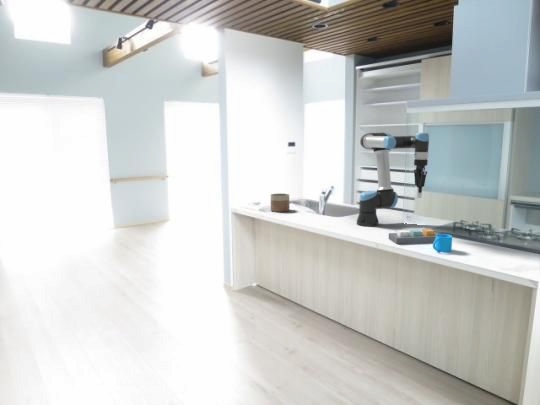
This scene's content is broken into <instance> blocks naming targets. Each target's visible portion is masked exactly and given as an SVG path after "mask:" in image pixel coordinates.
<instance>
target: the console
mask: <svg viewBox="0 0 540 405" xmlns="http://www.w3.org/2000/svg"><path fill="white" fill-rule="evenodd" d="M407 232H408V236H407V237H399V236H398V235H397V232H389V233H388V240H390V241H391V242H393V243H394V244H395V245H406V244H431V243H432V244H433V242H434V241H435V239H436V235H437V234H438V233H437V232H435V231H434V235H431V236H426V235H424V234H423V231H421V236H412V235H410V231H407Z"/></svg>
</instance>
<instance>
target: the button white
mask: <svg viewBox="0 0 540 405" xmlns="http://www.w3.org/2000/svg"><path fill="white" fill-rule="evenodd" d="M408 232H409V231H407V230H405V229H403V230H402V229H400V230H398V229H397V231H396V233H397V235H398V236H399V237H407V236H408Z"/></svg>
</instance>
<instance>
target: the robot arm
mask: <svg viewBox="0 0 540 405" xmlns="http://www.w3.org/2000/svg"><path fill="white" fill-rule="evenodd" d="M429 145H430V133H428V132H417V133H415V135H402V136H401V135H400V136H399V135H397V136H396V135H393V136H392V134H390V133H389V132H368V133H365V134H363V135H362V136H361V138H360V146H361V147H362V148H364V149H365V150H373V153H374V154H375V157H376V158H375V159H376V171H377V186H378V188H377V190H365V191H362V192H360V194H359V199H358V200H359V206H358V207H359V211H358V212H359V213H358V216H357V219H356V225H357V226H362V227H375V226H378V225H379V222H380V221H379V219H378V216H377V210H385V209H388V210H389V209H392V208H393V209H394V208H395V207H396V205H397V204H398V201H399V196H398V194H397V192H396V191H394V188H393V186H392V180H391V170H390V155H389V154H390V153H391V150H393V149H414V154H413V155H414V159H413V160H414V162H413V165H414V166H415V169H413V173H414V175H413V176H414V186H415V187H416V189H415V190H416V194H415V198H417V199H422V198H423V197H422V194H423V193H422V192H423V188H424V187H425V185H426V184H425V183H426V178H427V174H428V171H426V166H428V161H429V160H428V158H429Z"/></svg>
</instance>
